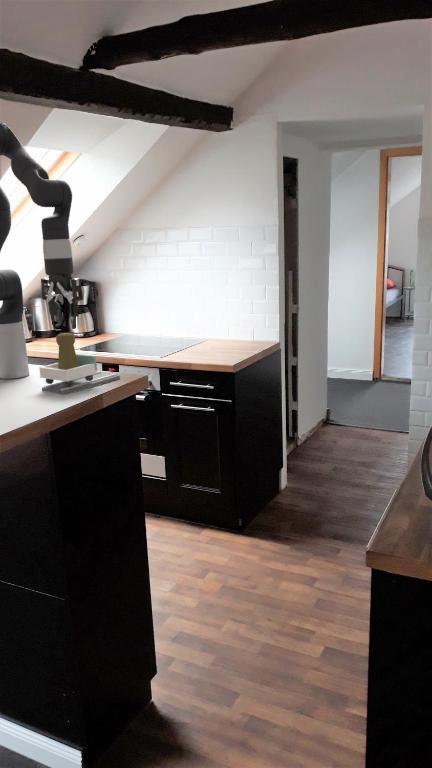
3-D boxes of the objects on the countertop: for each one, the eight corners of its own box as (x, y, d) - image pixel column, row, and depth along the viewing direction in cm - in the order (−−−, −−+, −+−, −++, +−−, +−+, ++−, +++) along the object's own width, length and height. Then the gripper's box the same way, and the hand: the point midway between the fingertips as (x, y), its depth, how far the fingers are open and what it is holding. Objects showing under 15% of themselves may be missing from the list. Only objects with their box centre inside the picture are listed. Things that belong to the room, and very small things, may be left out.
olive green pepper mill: (74, 373, 168) (70, 334, 166) (54, 373, 169) (50, 335, 167) (83, 369, 174) (79, 331, 171) (63, 369, 175) (59, 331, 173)
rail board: (42, 390, 170) (41, 386, 170) (96, 375, 187) (96, 371, 186) (65, 394, 164) (65, 389, 164) (120, 378, 181) (119, 374, 181)
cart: (41, 384, 171) (38, 360, 169) (71, 376, 179) (69, 353, 178) (67, 388, 164) (65, 363, 162) (98, 379, 173) (95, 356, 171)
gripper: (86, 255, 163) (91, 315, 166) (51, 256, 171) (57, 313, 175) (64, 257, 157) (70, 319, 161) (30, 257, 165) (36, 316, 169)
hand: (64, 316), depth 168 cm, fingers open, 8 cm apart
